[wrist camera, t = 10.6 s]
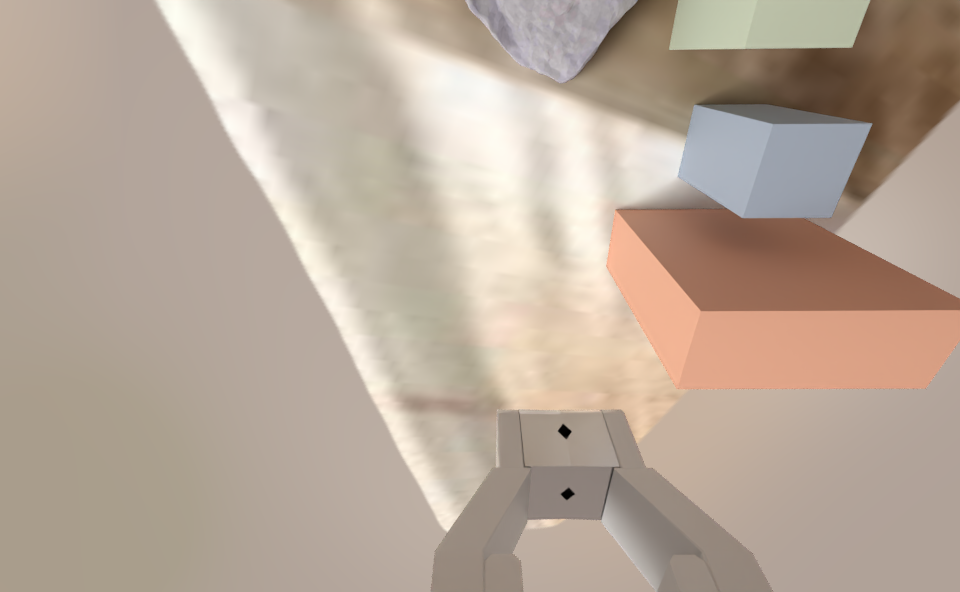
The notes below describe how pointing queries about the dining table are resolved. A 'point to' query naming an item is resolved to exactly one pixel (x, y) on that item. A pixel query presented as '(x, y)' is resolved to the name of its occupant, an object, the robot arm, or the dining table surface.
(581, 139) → the dining table surface
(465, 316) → the dining table surface
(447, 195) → the dining table surface
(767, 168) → the slate-blue block
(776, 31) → the sage-green block
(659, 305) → the terracotta block
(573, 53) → the stone block
